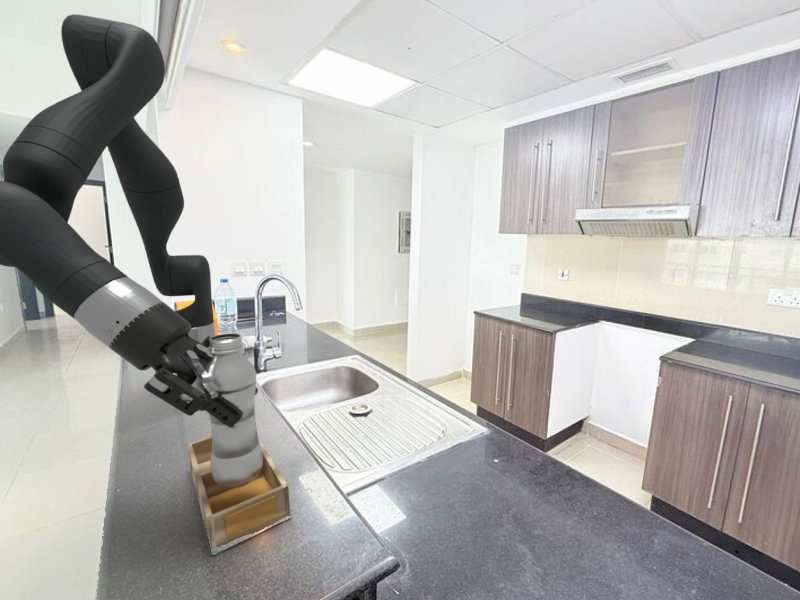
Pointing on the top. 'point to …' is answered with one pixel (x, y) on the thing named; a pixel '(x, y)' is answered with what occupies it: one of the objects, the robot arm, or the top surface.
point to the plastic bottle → (236, 382)
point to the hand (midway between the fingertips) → (246, 407)
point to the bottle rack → (237, 497)
